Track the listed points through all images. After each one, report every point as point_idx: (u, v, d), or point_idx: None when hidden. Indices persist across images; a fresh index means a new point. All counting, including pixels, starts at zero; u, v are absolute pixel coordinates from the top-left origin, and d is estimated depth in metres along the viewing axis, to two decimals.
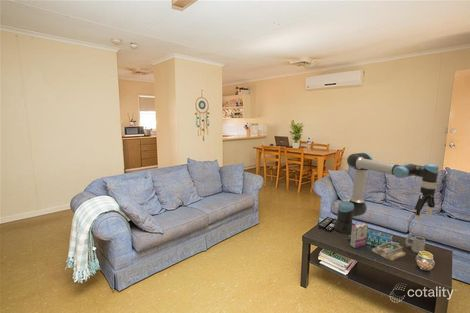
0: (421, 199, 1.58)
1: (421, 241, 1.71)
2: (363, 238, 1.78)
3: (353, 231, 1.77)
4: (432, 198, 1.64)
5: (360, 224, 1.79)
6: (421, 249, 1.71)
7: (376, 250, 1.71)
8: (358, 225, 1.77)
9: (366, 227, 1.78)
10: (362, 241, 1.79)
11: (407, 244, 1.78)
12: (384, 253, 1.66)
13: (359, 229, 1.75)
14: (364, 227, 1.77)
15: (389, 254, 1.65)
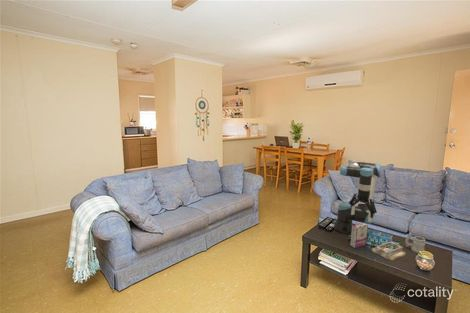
0: None
1: (421, 241, 1.71)
2: (363, 238, 1.78)
3: (353, 231, 1.77)
4: None
5: (360, 224, 1.79)
6: (421, 249, 1.71)
7: (376, 250, 1.71)
8: (358, 225, 1.77)
9: (366, 227, 1.78)
10: (362, 241, 1.79)
11: (407, 244, 1.78)
12: (384, 253, 1.66)
13: (359, 229, 1.75)
14: (364, 227, 1.77)
15: (389, 254, 1.65)
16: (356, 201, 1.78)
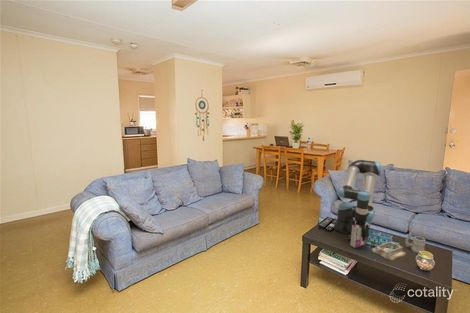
0: None
1: (421, 241, 1.71)
2: None
3: (353, 231, 1.77)
4: None
5: None
6: (421, 249, 1.71)
7: (376, 250, 1.71)
8: (359, 225, 1.77)
9: None
10: None
11: (407, 244, 1.78)
12: (384, 253, 1.66)
13: (359, 229, 1.75)
14: None
15: (389, 254, 1.65)
16: None
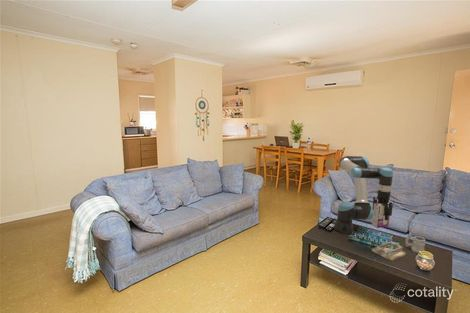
0: None
1: (421, 241, 1.71)
2: None
3: (375, 210, 1.68)
4: None
5: None
6: (421, 249, 1.71)
7: (376, 250, 1.71)
8: (381, 203, 1.68)
9: None
10: None
11: (407, 244, 1.78)
12: (384, 253, 1.66)
13: (382, 207, 1.66)
14: None
15: (389, 254, 1.65)
16: None
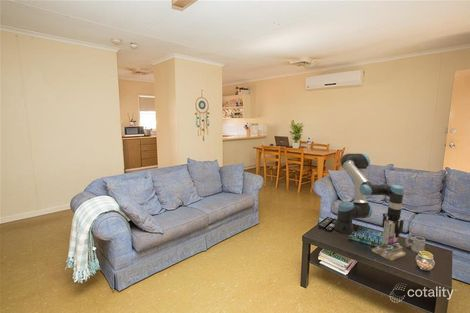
0: None
1: (421, 241, 1.71)
2: None
3: (386, 227, 1.67)
4: None
5: None
6: (421, 249, 1.71)
7: (376, 250, 1.71)
8: (392, 221, 1.67)
9: (399, 223, 1.68)
10: None
11: (407, 244, 1.78)
12: (384, 253, 1.66)
13: (393, 225, 1.65)
14: None
15: (389, 254, 1.65)
16: None
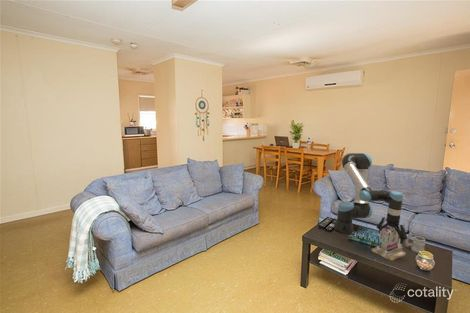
0: None
1: (421, 241, 1.71)
2: (394, 243, 1.69)
3: (384, 236, 1.68)
4: (401, 229, 1.63)
5: (391, 228, 1.70)
6: (421, 249, 1.71)
7: (376, 250, 1.71)
8: (390, 229, 1.68)
9: None
10: (393, 246, 1.70)
11: (407, 244, 1.78)
12: (384, 253, 1.66)
13: (391, 234, 1.66)
14: (395, 232, 1.68)
15: (389, 254, 1.65)
16: (385, 225, 1.72)
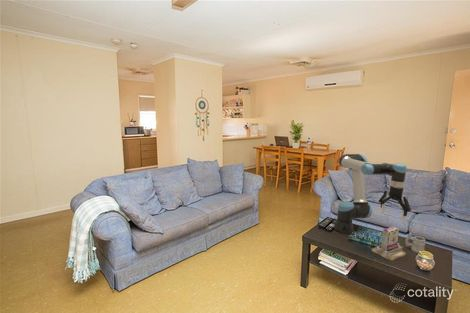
0: None
1: (421, 241, 1.71)
2: (394, 243, 1.69)
3: (384, 236, 1.68)
4: (404, 201, 1.60)
5: (391, 228, 1.70)
6: (421, 249, 1.71)
7: (376, 250, 1.71)
8: (390, 229, 1.68)
9: (397, 231, 1.69)
10: (393, 246, 1.70)
11: (407, 244, 1.78)
12: (384, 253, 1.66)
13: (391, 234, 1.66)
14: (395, 232, 1.68)
15: (389, 254, 1.65)
16: (387, 199, 1.70)
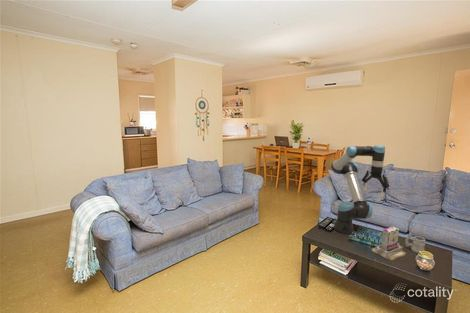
0: None
1: (421, 241, 1.71)
2: (394, 243, 1.69)
3: (384, 236, 1.68)
4: (383, 178, 1.78)
5: (391, 228, 1.70)
6: (421, 249, 1.71)
7: (376, 250, 1.71)
8: (390, 229, 1.68)
9: (397, 231, 1.69)
10: (393, 246, 1.70)
11: (407, 244, 1.78)
12: (384, 253, 1.66)
13: (391, 234, 1.66)
14: (395, 232, 1.68)
15: (389, 254, 1.65)
16: (369, 177, 1.88)
